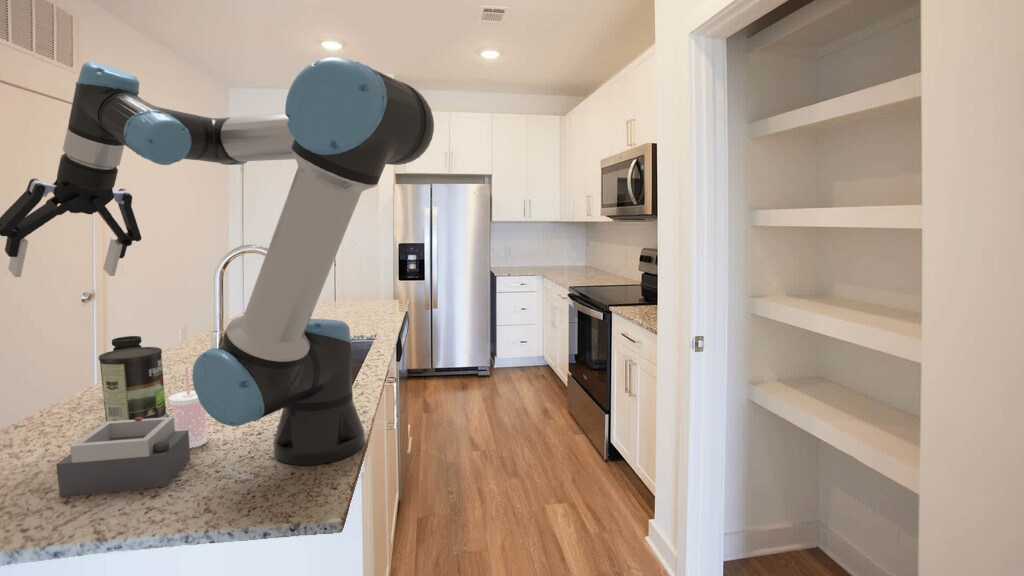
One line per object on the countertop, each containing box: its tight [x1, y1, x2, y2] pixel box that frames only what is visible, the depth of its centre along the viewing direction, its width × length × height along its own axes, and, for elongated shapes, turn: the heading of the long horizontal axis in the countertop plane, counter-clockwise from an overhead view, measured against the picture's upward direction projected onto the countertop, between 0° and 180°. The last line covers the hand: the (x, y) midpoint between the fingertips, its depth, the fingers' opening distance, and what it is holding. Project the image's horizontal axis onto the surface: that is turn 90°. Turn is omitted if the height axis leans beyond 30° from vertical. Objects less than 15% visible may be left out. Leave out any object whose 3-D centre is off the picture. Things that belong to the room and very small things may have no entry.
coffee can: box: [98, 346, 168, 422], centre depth 108 cm, size 10×10×14 cm
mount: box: [55, 416, 191, 498], centre depth 84 cm, size 14×10×8 cm
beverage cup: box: [168, 367, 208, 449], centre depth 97 cm, size 6×6×14 cm
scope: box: [111, 335, 142, 351], centre depth 121 cm, size 8×14×10 cm
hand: (64, 272), depth 94 cm, fingers open, 13 cm apart
